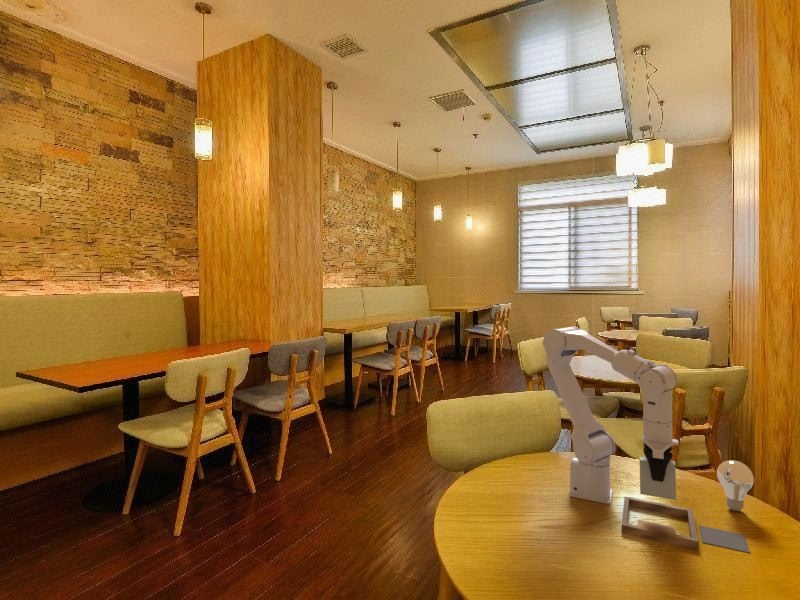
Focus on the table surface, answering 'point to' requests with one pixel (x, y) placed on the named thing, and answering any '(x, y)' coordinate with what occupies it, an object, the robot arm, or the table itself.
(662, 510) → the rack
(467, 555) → the table surface
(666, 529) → the offcut upper
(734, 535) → the mat
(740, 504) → the light bulb
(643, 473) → the light grey slab
